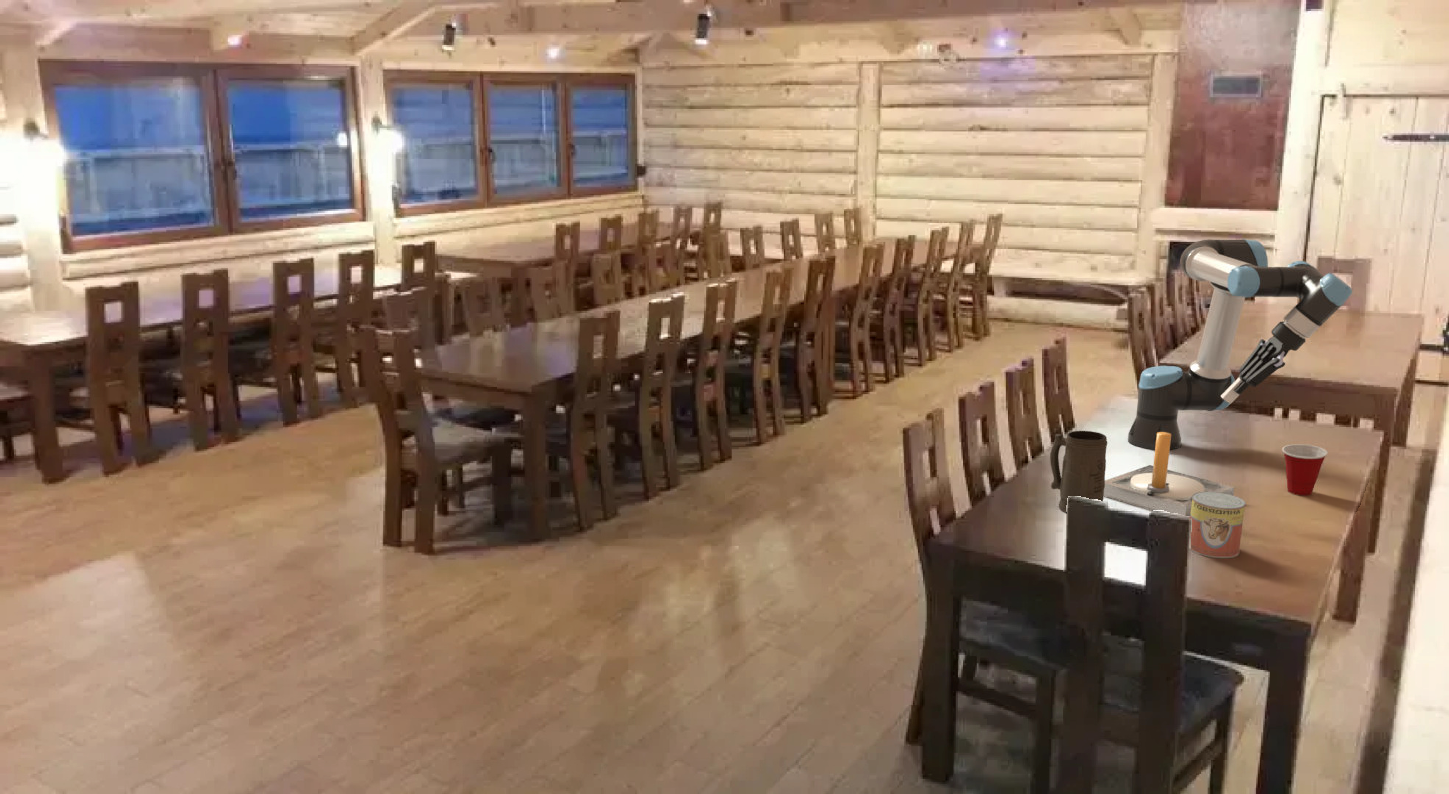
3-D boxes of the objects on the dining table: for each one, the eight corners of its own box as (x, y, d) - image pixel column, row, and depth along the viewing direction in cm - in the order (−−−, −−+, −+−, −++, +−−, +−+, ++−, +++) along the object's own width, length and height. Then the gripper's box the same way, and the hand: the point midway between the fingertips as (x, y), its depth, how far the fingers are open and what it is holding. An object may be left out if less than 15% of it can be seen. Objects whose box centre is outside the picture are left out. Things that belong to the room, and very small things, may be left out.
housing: (1099, 494, 298) (1100, 480, 297) (1148, 477, 313) (1149, 462, 312) (1184, 519, 280) (1186, 504, 279) (1232, 499, 295) (1234, 484, 294)
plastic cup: (1267, 488, 305) (1272, 445, 302) (1296, 483, 309) (1302, 441, 306) (1301, 501, 295) (1307, 457, 292) (1331, 496, 299) (1337, 452, 296)
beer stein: (1112, 509, 287) (1115, 432, 283) (1093, 520, 280) (1095, 441, 276) (1056, 499, 298) (1058, 425, 294) (1036, 509, 290) (1037, 433, 286)
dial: (1144, 473, 309) (1150, 415, 305) (1212, 487, 298) (1220, 427, 294) (1119, 490, 295) (1125, 429, 291) (1190, 505, 284) (1197, 442, 280)
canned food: (1186, 553, 259) (1192, 504, 256) (1186, 537, 269) (1191, 489, 266) (1240, 561, 255) (1247, 510, 252) (1237, 543, 265) (1244, 495, 262)
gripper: (1315, 348, 273) (1244, 419, 283) (1297, 327, 285) (1229, 396, 295) (1291, 332, 272) (1221, 403, 282) (1274, 311, 284) (1207, 381, 294)
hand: (1225, 399), depth 289 cm, fingers closed
